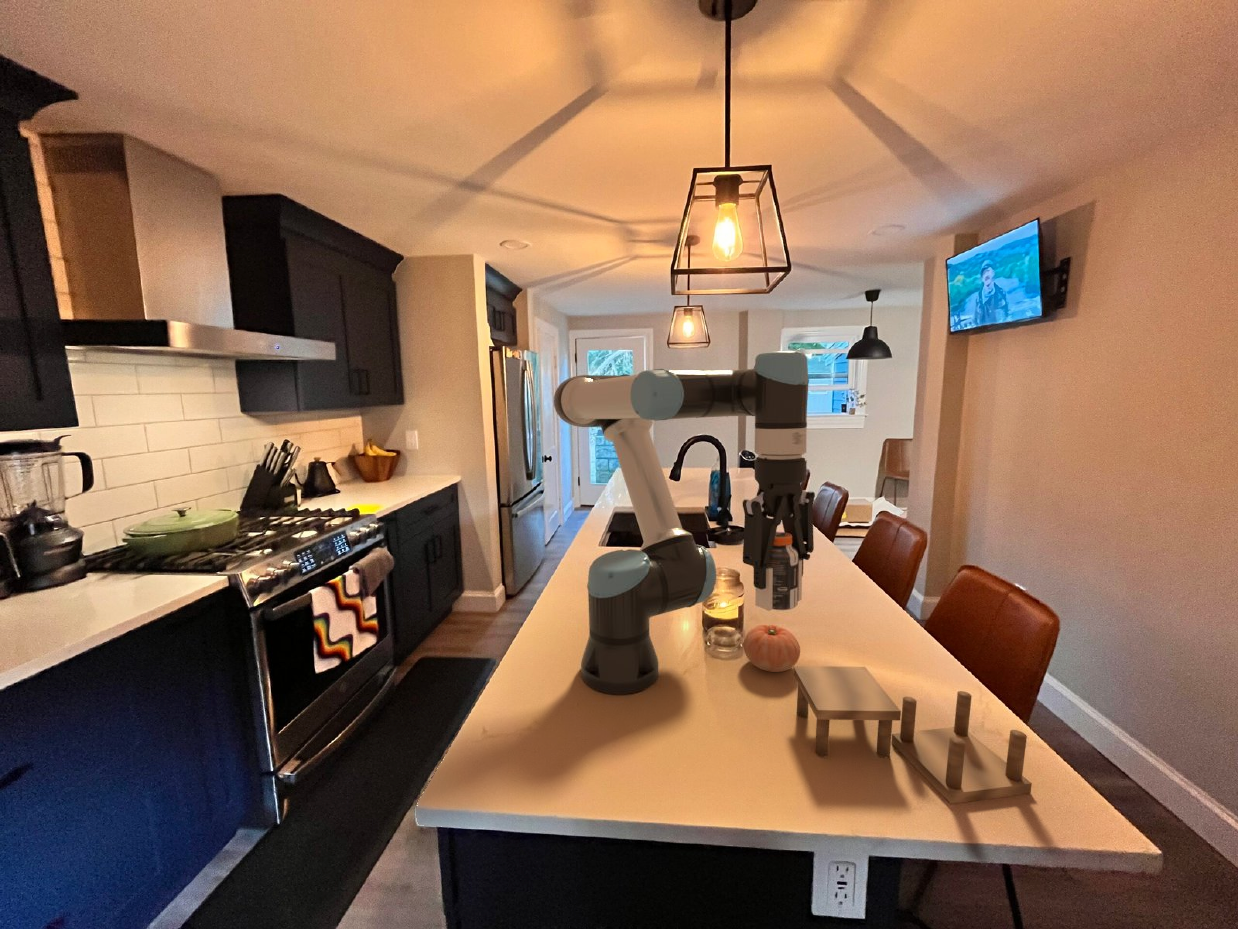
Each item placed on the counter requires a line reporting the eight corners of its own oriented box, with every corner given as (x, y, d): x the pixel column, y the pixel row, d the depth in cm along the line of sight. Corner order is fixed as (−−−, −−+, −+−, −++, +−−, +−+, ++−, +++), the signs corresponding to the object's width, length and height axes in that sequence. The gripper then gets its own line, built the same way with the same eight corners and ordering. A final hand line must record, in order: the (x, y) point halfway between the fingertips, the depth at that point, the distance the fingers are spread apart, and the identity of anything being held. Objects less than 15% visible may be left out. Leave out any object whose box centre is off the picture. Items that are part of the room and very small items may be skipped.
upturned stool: (950, 804, 68) (956, 749, 67) (891, 742, 80) (895, 695, 79) (1030, 793, 70) (1037, 740, 69) (960, 734, 82) (965, 688, 80)
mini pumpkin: (731, 664, 103) (732, 627, 102) (763, 646, 110) (764, 611, 109) (779, 688, 95) (780, 647, 94) (810, 667, 102) (811, 629, 100)
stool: (815, 759, 77) (817, 710, 75) (791, 709, 89) (793, 666, 87) (897, 760, 76) (900, 711, 75) (862, 710, 88) (865, 666, 87)
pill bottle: (806, 607, 79) (807, 536, 78) (774, 614, 77) (775, 541, 75) (780, 594, 85) (781, 527, 83) (750, 600, 82) (750, 531, 81)
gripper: (754, 463, 70) (753, 626, 72) (841, 452, 79) (837, 596, 82) (716, 459, 76) (716, 608, 79) (801, 449, 86) (799, 583, 89)
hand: (778, 602), depth 81 cm, fingers closed on pill bottle, 6 cm apart
